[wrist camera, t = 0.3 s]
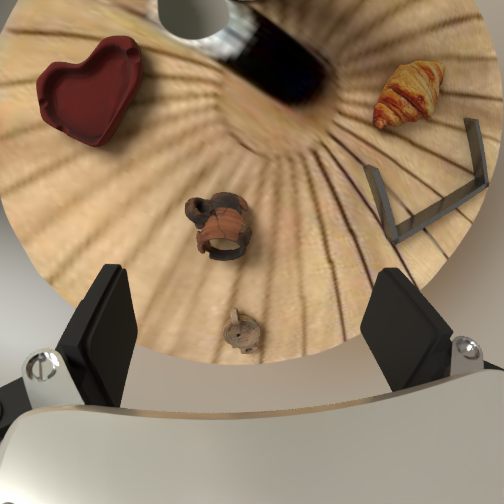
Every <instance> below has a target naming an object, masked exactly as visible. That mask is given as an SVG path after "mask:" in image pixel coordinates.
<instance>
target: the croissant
mask: <svg viewBox="0 0 504 504" xmlns="http://www.w3.org/2000/svg"><path fill="white" fill-rule="evenodd" d="M444 72H445V67H444V66H443V65H442V64H441V63H438V62H436V61H429V62H428V61H421V60H419V61H414V62H412V63H410V64H406V65H398V67H397V69H396V70H395V71H394V74H393V75H391V76H390V77H389V78H388V80H387V82H386V84H385V86H384V89H383V91H382V93H381V95H380V97H379V100H378V103H377V104H376V105H375V107H374V113H373V124H374V126H375V127H377V128H379V129H383V128H384V127H385V126H387V125H389V126H401V125H402V124H405V123H407V122H408V121H409V122H416V121H417V120H419V119H421V118H423V117H425V118H431V116H432V115H433V113H434V107H435V103H436V102H437V100H438V96H439V87H440V85H441V84H442V82H443V74H444Z"/></svg>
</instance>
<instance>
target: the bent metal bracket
mask: <svg viewBox="0 0 504 504" xmlns="http://www.w3.org/2000/svg"><path fill="white" fill-rule="evenodd" d="M464 123H465V127H466V132H467V136H468V141H469V146H470V151H471V156H472V162H473V168H474V175H475V179H474V180H472V181H470V182H469V183H467V184H466V185H464V186H462V187H461V188H459V189H458V190H456V191H454V192H453V193H451V194H449V195H448V196H446V197H445V198H443V199H441V200H440V201H438V202H436V203H435V204H433V205H431V206H430V207H428V208H426V209H424V210H423V211H421V212H419V213H418V214H416V215H414V216H412V217H411V218H409V219H407V220H406V221H404V222H402V223H400V224H399V225H397V226H395V222H394V219H393V215H392V211H391V208H390V204H389V201H388V198H387V194H386V191H385V188H384V185H383V181H382V178H381V175H380V172H379V169H378V168H375V167H373V166H371V165H367V166H364V167H363V169H364V171H365V174H366V177H367V180H368V183H369V185H370V188H371V191H372V194H373V197H374V200H375V203H376V207H377V210H378V213H379V216H380V219H381V223H382V226H383V230H384V233H385V237H386V238H387V239H388V240H389V241H390V242H391V243H392V244H393V245H396V244H398V243H400V242H401V241H403V240H405V239H406V238H408V237H410V236H411V235H413V234H415V233H417V232H418V231H420V230H422V229H423V228H425V227H426V226H428V225H430V224H431V223H433V222H435V221H436V220H438V219H439V218H441V217H443V216H444V215H446V214H447V213H449V212H451V211H452V210H454V209H455V208H457V207H458V206H460V205H461V204H463V203H465V202H466V201H468V200H469V199H471V198H472V197H474V196H475V195H477V194H478V193H480V192H481V191H483V190H484V189H486V188H487V187H488V186H489V183H488V174H487V166H486V159H485V153H484V147H483V141H482V136H481V131H480V126H479V122H478V120H476V119H471V118H465V119H464Z"/></svg>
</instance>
